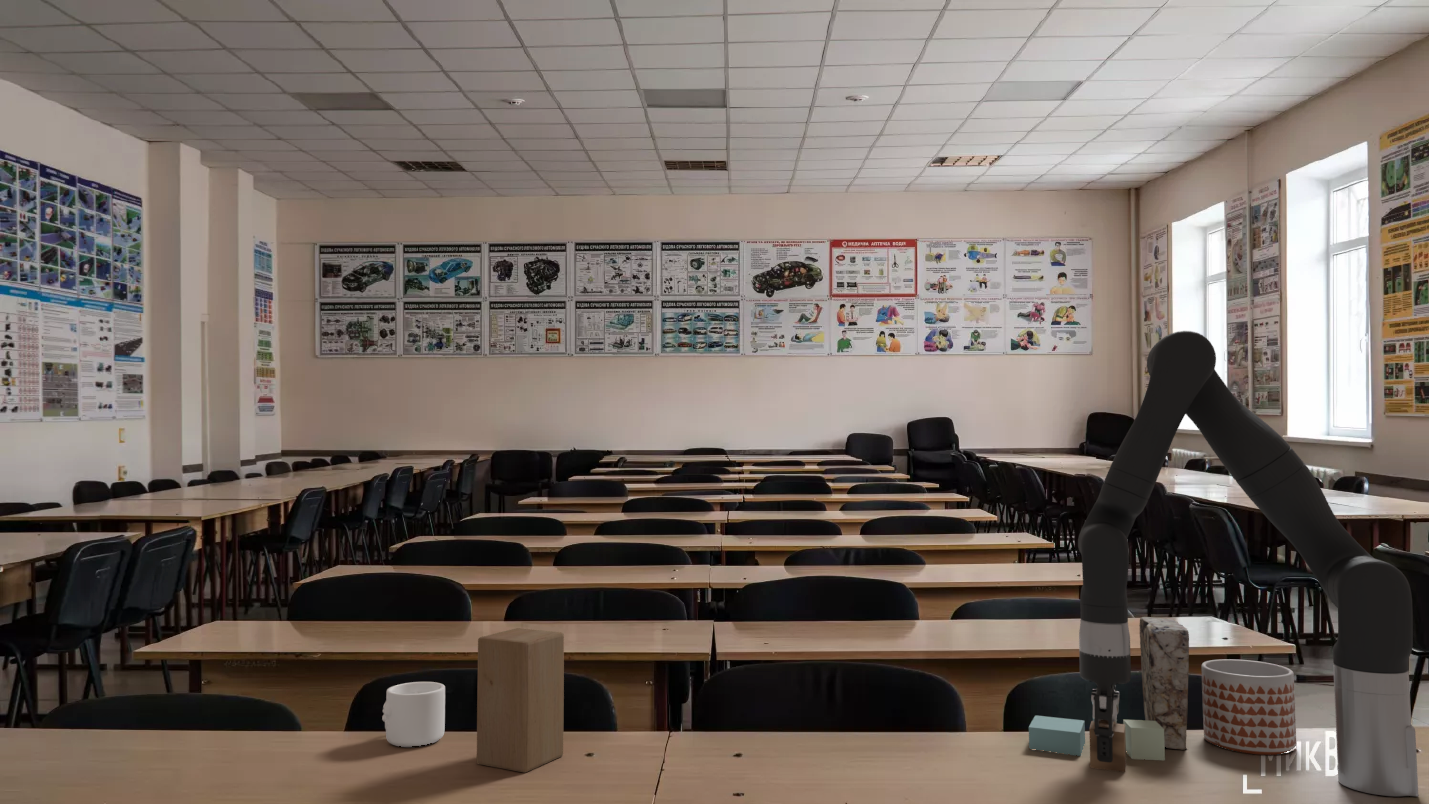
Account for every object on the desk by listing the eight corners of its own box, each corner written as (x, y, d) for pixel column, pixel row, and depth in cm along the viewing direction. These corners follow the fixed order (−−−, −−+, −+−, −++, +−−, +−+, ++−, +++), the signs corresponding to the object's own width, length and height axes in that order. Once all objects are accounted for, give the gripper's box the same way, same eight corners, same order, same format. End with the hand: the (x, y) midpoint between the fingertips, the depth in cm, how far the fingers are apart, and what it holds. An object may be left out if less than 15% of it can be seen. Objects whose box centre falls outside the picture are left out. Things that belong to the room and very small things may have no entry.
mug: (382, 733, 171) (383, 681, 172) (443, 728, 174) (443, 677, 175) (380, 752, 160) (381, 696, 160) (445, 746, 163) (446, 692, 163)
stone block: (1199, 751, 158) (1194, 628, 160) (1153, 749, 160) (1150, 627, 161) (1174, 729, 171) (1170, 615, 173) (1132, 727, 173) (1129, 614, 174)
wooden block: (475, 764, 153) (476, 637, 154) (516, 748, 162) (517, 627, 163) (525, 773, 148) (526, 642, 150) (564, 756, 157) (565, 632, 159)
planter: (1189, 732, 170) (1187, 658, 171) (1269, 732, 169) (1266, 659, 170) (1227, 755, 156) (1225, 676, 157) (1314, 756, 156) (1311, 676, 156)
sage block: (1156, 751, 159) (1155, 720, 159) (1165, 760, 154) (1163, 729, 154) (1124, 750, 160) (1123, 719, 160) (1131, 759, 155) (1130, 727, 155)
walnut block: (1126, 762, 153) (1125, 724, 153) (1125, 772, 148) (1124, 732, 149) (1092, 759, 155) (1091, 720, 155) (1090, 767, 150) (1089, 728, 151)
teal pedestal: (1085, 744, 164) (1084, 720, 164) (1080, 757, 156) (1079, 732, 157) (1035, 738, 167) (1035, 715, 167) (1029, 751, 160) (1028, 727, 160)
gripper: (1128, 660, 145) (1131, 770, 144) (1131, 643, 158) (1133, 744, 157) (1075, 655, 148) (1077, 763, 147) (1082, 639, 161) (1084, 739, 160)
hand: (1106, 753), depth 152 cm, fingers open, 8 cm apart
